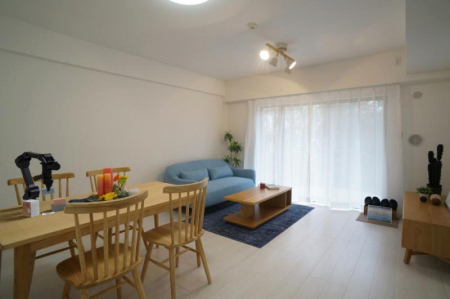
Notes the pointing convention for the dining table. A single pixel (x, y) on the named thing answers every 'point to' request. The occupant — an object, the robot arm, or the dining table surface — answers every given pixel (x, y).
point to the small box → (31, 208)
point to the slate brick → (44, 192)
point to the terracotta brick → (59, 201)
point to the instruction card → (48, 213)
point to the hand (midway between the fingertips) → (48, 190)
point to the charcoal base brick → (58, 207)
